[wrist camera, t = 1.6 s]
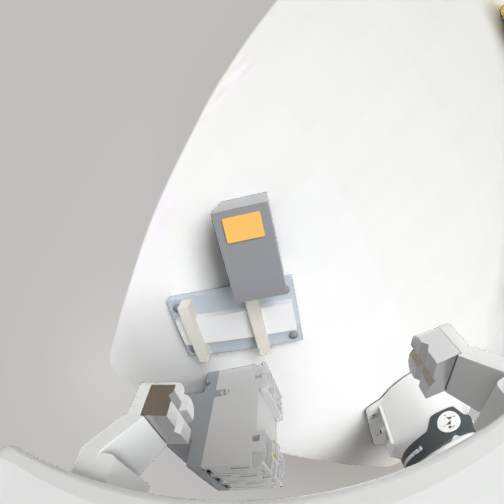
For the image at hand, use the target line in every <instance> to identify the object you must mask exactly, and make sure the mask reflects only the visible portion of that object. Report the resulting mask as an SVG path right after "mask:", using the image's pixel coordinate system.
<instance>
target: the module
mask: <svg viewBox="0 0 504 504" xmlns="http://www.w3.org/2000/svg"><path fill="white" fill-rule="evenodd" d="M211 217H212V221H213V225H214V229H215V232H216V236H217V240H218V243H219V247H220V250H221V254H222V258H223V261H224V265H225V268H226V272H227V275H228V279H229V282H230V286H231V289H232V293H233V296H234V299H235V303H240V302H246V301H252V300H257V299H263V298H268V297H273V296H279V295H284V294H287V290H286V284H285V277H284V271H283V265H282V260H281V256H280V252H279V247H278V242H277V237H276V232H275V228H274V223H273V218H272V214H271V209H270V204H269V199H268V195H267V192H263V193H258V194H253V195H249V196H244V197H240V198H236V199H231V200H227V201H223V202H221V203H220V204H219V205H218V206H217V208H216V209H215V210H214V211H213V212H212V213H211Z"/></svg>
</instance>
